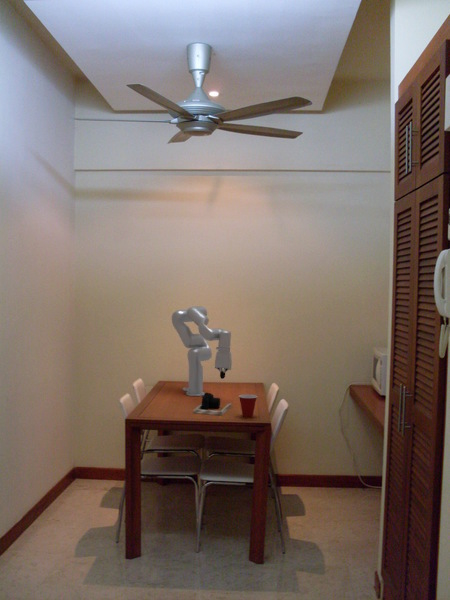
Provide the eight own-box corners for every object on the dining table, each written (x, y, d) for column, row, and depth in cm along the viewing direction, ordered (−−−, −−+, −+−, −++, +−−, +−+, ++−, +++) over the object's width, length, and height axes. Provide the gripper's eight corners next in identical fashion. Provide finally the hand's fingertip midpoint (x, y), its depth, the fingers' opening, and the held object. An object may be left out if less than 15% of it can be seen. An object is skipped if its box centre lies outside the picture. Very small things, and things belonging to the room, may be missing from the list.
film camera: (215, 411, 320) (216, 396, 320) (199, 410, 323) (200, 395, 322) (221, 405, 335) (222, 391, 335) (206, 404, 337) (206, 390, 337)
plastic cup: (256, 413, 317) (256, 393, 316) (258, 418, 306) (258, 397, 305) (237, 413, 316) (238, 393, 316) (238, 418, 305) (239, 397, 305)
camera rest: (193, 413, 316) (193, 409, 316) (204, 404, 337) (204, 401, 337) (221, 415, 311) (221, 412, 311) (231, 406, 333) (231, 403, 333)
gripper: (211, 349, 344) (209, 378, 345) (234, 351, 340) (232, 380, 341) (214, 347, 351) (212, 375, 353) (236, 350, 347) (235, 378, 349)
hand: (222, 378), depth 347 cm, fingers closed
